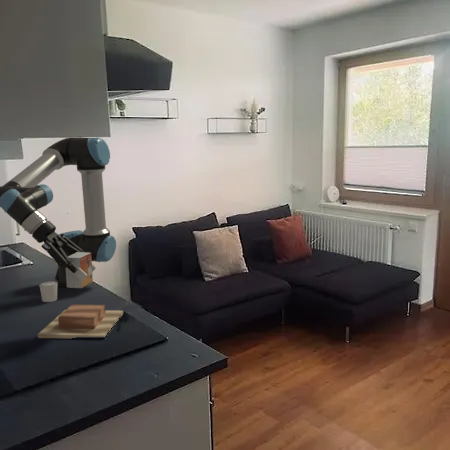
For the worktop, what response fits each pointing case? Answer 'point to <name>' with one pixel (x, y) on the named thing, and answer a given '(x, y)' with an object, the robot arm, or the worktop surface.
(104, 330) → the tower base
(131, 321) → the worktop surface
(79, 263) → the small box
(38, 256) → the worktop surface
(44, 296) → the shot glass
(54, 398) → the worktop surface
